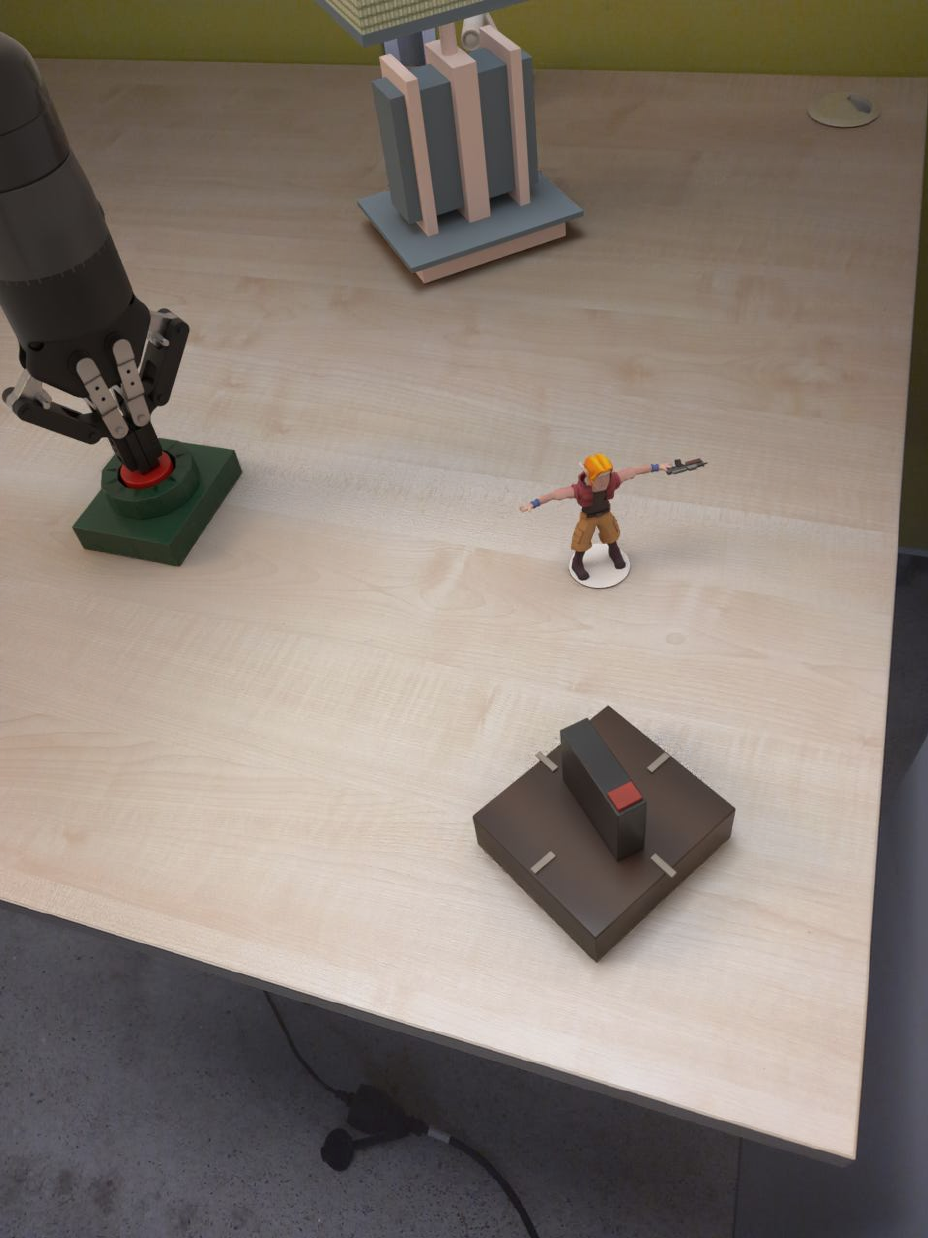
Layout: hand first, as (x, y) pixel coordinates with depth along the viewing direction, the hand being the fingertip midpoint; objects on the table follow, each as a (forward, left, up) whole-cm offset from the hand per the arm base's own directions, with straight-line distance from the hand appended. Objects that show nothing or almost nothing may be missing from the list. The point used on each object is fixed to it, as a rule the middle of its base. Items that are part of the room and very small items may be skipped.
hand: (144, 465), depth 72 cm
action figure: (+19, -27, -4) cm, 33 cm away
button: (0, 0, -2) cm, 2 cm away
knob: (+4, -41, -1) cm, 41 cm away
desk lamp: (+40, +12, -4) cm, 42 cm away
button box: (0, 0, -4) cm, 4 cm away
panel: (+4, -41, -4) cm, 42 cm away
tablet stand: (+61, +32, -4) cm, 69 cm away
